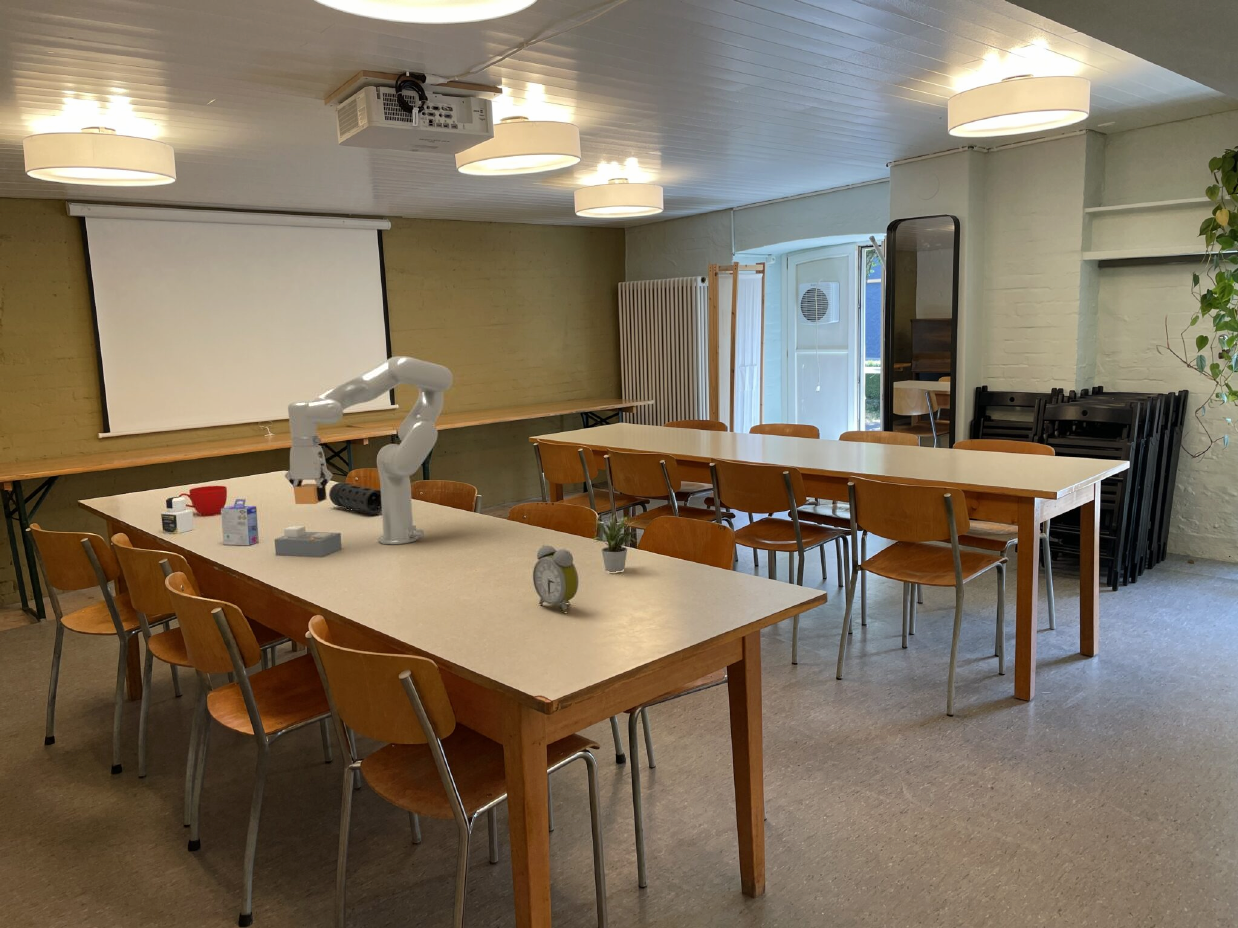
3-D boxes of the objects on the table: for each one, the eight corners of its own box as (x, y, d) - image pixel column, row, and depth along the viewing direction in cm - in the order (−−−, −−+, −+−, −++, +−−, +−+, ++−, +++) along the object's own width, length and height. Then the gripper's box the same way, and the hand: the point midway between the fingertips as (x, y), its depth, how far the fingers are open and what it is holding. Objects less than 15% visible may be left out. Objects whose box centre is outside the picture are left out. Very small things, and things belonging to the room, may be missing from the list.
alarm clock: (532, 605, 211) (530, 545, 209) (553, 599, 216) (552, 540, 213) (563, 615, 203) (562, 553, 200) (585, 609, 207) (583, 548, 205)
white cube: (305, 538, 272) (304, 526, 271) (297, 542, 268) (296, 529, 267) (293, 538, 273) (292, 525, 272) (285, 541, 269) (284, 529, 268)
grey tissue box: (341, 548, 273) (340, 531, 272) (322, 557, 263) (320, 539, 262) (296, 546, 277) (295, 529, 276) (275, 555, 266) (274, 537, 265)
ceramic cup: (180, 514, 334) (178, 488, 332) (228, 509, 341) (226, 484, 339) (179, 520, 322) (176, 493, 321) (229, 515, 329) (226, 489, 328)
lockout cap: (326, 499, 267) (325, 483, 267) (314, 503, 261) (313, 487, 260) (308, 499, 269) (306, 483, 268) (295, 503, 263) (293, 487, 262)
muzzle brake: (366, 518, 319) (364, 491, 318) (327, 509, 338) (326, 483, 337) (388, 514, 326) (386, 487, 324) (350, 505, 345) (348, 480, 343)
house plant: (592, 580, 231) (590, 521, 229) (580, 567, 245) (579, 511, 242) (642, 575, 235) (642, 517, 233) (628, 563, 248) (627, 507, 246)
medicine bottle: (162, 532, 301) (159, 498, 299) (179, 528, 308) (176, 495, 306) (177, 534, 298) (174, 500, 297) (194, 529, 305) (191, 496, 303)
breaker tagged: (331, 545, 270) (331, 533, 269) (324, 549, 266) (323, 536, 265) (319, 545, 271) (318, 533, 270) (311, 548, 267) (310, 536, 266)
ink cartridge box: (260, 542, 284) (256, 498, 282) (249, 546, 279) (246, 502, 277) (233, 541, 286) (229, 498, 284) (222, 545, 281) (218, 501, 279)
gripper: (337, 440, 264) (343, 497, 266) (287, 440, 268) (293, 497, 271) (323, 443, 256) (329, 502, 259) (272, 444, 260) (279, 502, 263)
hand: (311, 499), depth 265 cm, fingers closed on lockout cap, 6 cm apart
